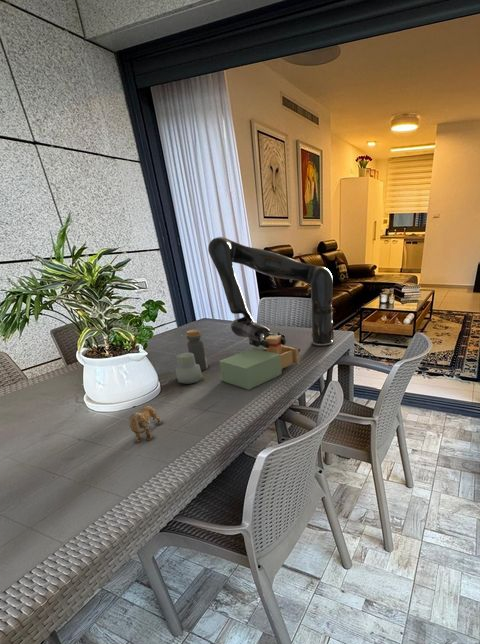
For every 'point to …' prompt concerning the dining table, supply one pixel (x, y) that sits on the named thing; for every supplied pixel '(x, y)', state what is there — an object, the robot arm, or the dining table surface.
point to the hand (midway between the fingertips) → (276, 343)
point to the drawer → (288, 355)
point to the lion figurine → (143, 422)
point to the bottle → (197, 348)
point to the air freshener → (187, 369)
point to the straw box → (274, 344)
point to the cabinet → (250, 368)
